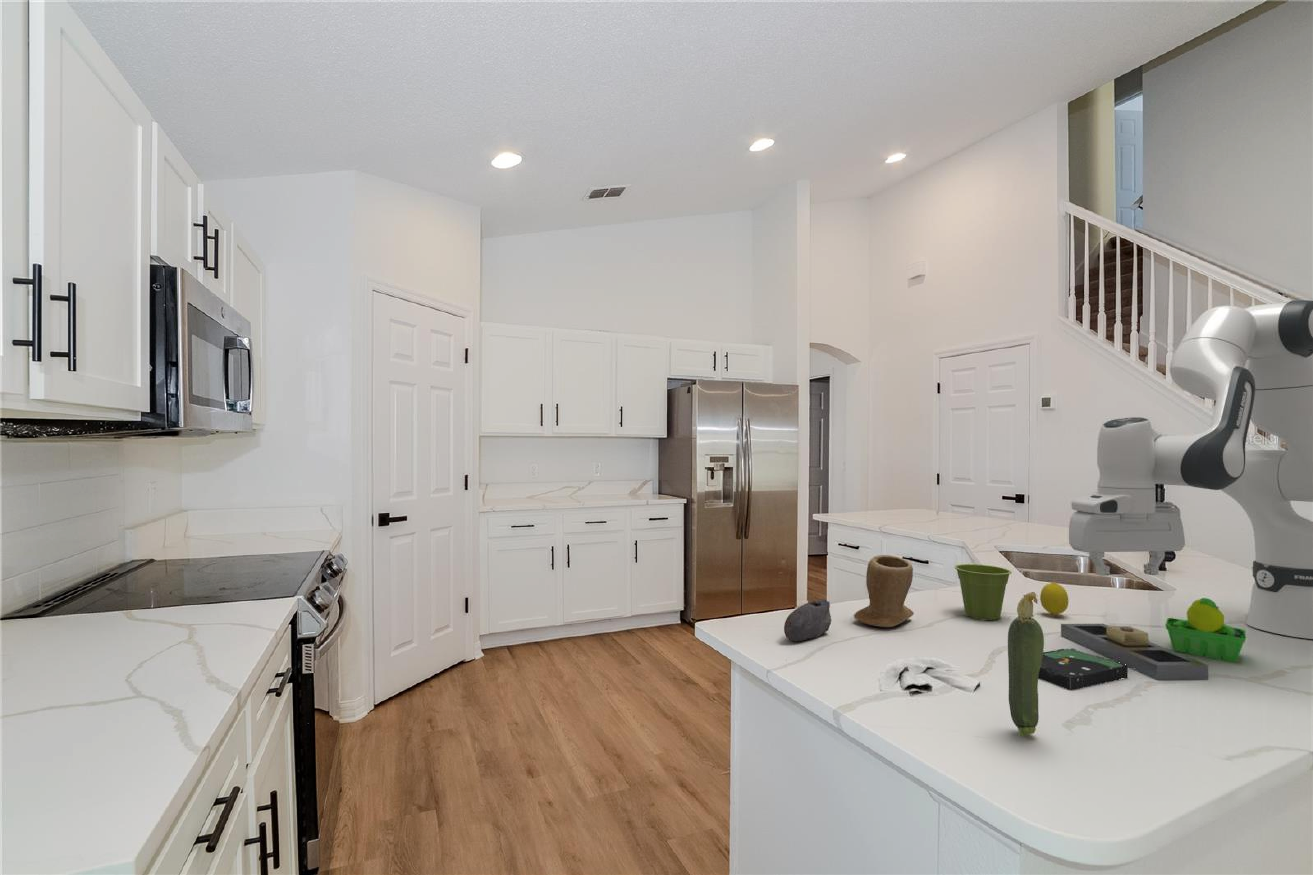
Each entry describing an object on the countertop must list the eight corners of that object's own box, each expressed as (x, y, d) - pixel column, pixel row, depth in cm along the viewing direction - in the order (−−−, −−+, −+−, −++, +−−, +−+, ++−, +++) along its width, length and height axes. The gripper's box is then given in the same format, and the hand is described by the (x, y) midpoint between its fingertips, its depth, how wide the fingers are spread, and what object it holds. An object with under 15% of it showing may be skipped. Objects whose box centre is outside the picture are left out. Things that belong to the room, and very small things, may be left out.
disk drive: (1072, 695, 100) (1129, 680, 106) (1072, 678, 100) (1129, 664, 106) (1014, 673, 110) (1069, 660, 115) (1013, 657, 110) (1068, 645, 115)
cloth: (941, 659, 117) (941, 646, 117) (1029, 708, 95) (1029, 692, 95) (841, 665, 113) (841, 652, 113) (909, 717, 92) (909, 701, 92)
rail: (1102, 635, 129) (1102, 623, 129) (1208, 679, 105) (1208, 664, 105) (1060, 635, 129) (1060, 623, 129) (1156, 679, 105) (1156, 665, 105)
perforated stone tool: (795, 648, 121) (795, 613, 121) (774, 642, 125) (774, 608, 125) (838, 633, 131) (838, 600, 131) (817, 627, 135) (817, 596, 135)
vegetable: (1001, 726, 87) (1000, 586, 88) (1029, 725, 88) (1029, 586, 88) (1022, 741, 83) (1021, 594, 83) (1052, 740, 83) (1051, 593, 84)
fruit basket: (1245, 655, 117) (1244, 596, 117) (1246, 668, 110) (1245, 605, 111) (1167, 642, 125) (1167, 586, 125) (1164, 653, 118) (1164, 594, 118)
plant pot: (1023, 624, 137) (1022, 574, 137) (969, 624, 137) (969, 573, 137) (994, 609, 149) (994, 563, 149) (945, 609, 149) (945, 563, 149)
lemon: (1072, 620, 140) (1072, 585, 140) (1046, 618, 141) (1045, 584, 141) (1062, 613, 146) (1061, 579, 146) (1036, 612, 147) (1036, 578, 147)
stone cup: (898, 635, 129) (898, 564, 129) (847, 623, 137) (846, 557, 138) (928, 621, 139) (928, 555, 140) (878, 611, 148) (878, 548, 148)
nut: (1129, 651, 119) (1129, 625, 119) (1148, 659, 115) (1148, 632, 115) (1106, 651, 119) (1106, 625, 119) (1124, 660, 115) (1124, 632, 115)
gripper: (1165, 500, 120) (1166, 570, 120) (1063, 501, 120) (1063, 571, 120) (1194, 503, 114) (1195, 577, 114) (1086, 504, 114) (1087, 579, 114)
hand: (1126, 574), depth 117 cm, fingers open, 8 cm apart
